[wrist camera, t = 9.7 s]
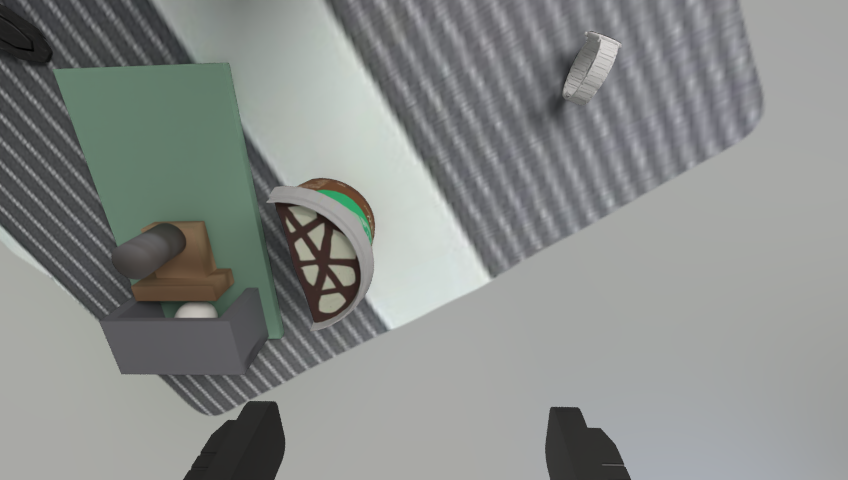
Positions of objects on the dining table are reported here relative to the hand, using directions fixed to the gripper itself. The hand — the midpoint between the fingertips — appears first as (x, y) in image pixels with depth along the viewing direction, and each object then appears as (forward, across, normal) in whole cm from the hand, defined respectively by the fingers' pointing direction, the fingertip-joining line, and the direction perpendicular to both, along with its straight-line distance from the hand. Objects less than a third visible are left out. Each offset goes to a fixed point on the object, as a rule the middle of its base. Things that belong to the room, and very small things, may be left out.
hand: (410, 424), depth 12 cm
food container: (+28, +8, +4) cm, 30 cm away
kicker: (+27, +25, +7) cm, 37 cm away
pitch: (+28, +25, +4) cm, 38 cm away
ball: (+25, +25, +14) cm, 38 cm away
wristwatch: (+28, -12, -9) cm, 32 cm away
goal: (+28, +25, +14) cm, 40 cm away
